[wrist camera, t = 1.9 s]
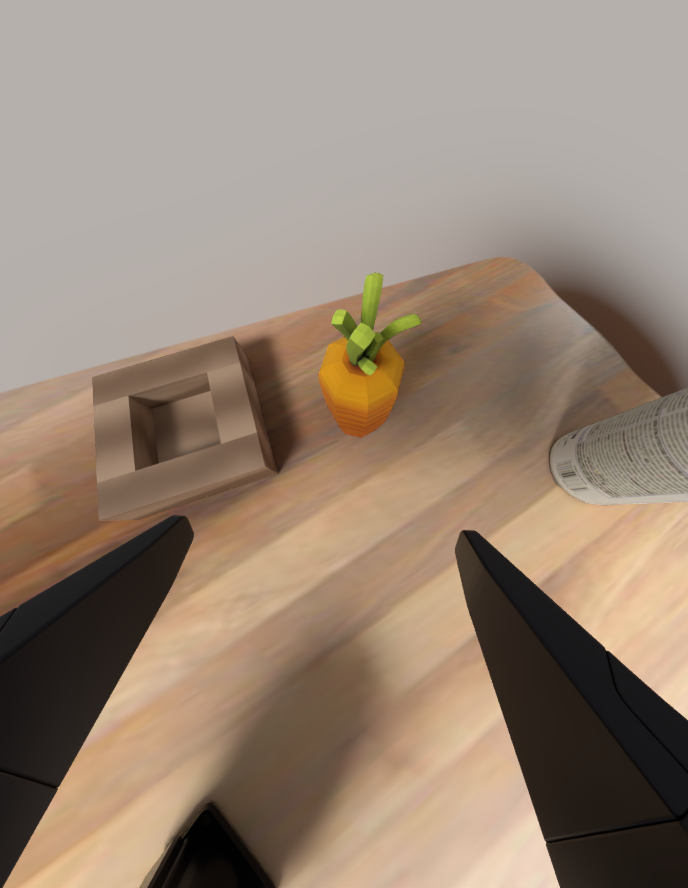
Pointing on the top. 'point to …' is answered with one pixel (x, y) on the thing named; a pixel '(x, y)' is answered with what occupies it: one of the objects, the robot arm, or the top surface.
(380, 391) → the carrot
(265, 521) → the top surface
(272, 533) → the top surface
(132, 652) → the robot arm
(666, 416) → the spray can
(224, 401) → the walnut socket block
